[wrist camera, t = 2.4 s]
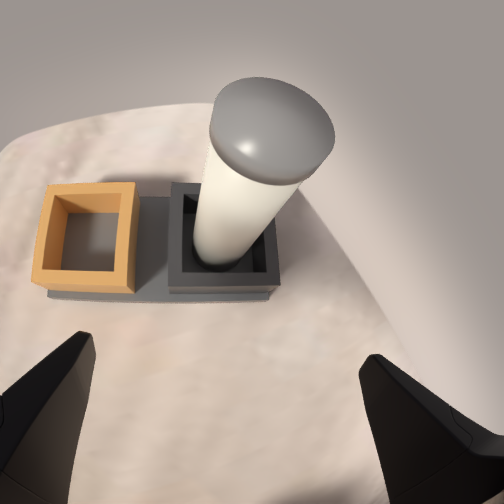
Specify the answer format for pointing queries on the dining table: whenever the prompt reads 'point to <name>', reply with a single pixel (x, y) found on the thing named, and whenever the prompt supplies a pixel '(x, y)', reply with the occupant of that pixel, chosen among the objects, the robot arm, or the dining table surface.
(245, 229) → the plug
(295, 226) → the dining table surface
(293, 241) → the dining table surface
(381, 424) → the robot arm
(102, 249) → the two-tone square organizer tray
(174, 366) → the dining table surface
